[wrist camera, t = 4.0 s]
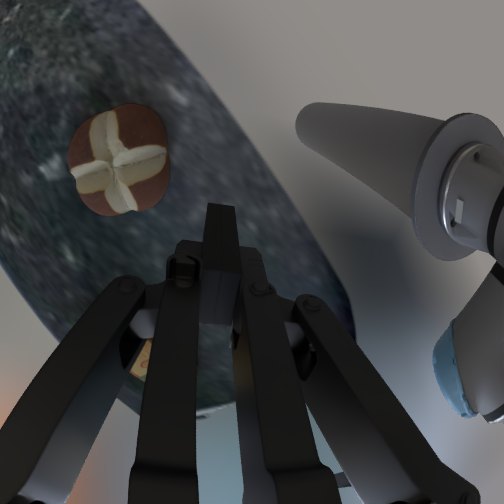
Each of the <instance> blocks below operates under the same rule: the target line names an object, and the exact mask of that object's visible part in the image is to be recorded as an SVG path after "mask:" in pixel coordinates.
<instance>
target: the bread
mask: <svg viewBox="0 0 504 504" xmlns="http://www.w3.org/2000/svg"><path fill="white" fill-rule="evenodd" d="M68 166H69V170H70V172H71V173H72V174H73V175H74V177H75V179H76V187H77V191H78V193H79V195H80V197H81V199H82V200H83V202H84V203H85V204H86V205H87V206H88V207H89V208H90V209H91V210H92V211H94V212H96V213H97V214H100V215H104V216H115V215H120V214H124V213H126V212H128V211H129V210H135V211H138V212H139V211H143V210H146V209H148V208H151V207H152V206H154V205H155V204H157V203H158V202H159V201H160V199H161V198H162V197H163V195H164V193H165V192H166V189H167V187H168V183H169V179H170V163H169V157H168V153H167V136H166V131H165V128H164V126H163V123H162V121H161V120H160V118H159V117H158V115H157V114H156V113H155V112H153V111H152V110H151V109H149V108H147V107H145V106H142V105H138V104H124V105H121V106H118V107H116V108H114V109H112V110H111V111H105V112H102V113H99V114H97V115H95V116H93V117H91V118H90V119H88V120H87V121H85V122H84V123H83V124H82V125H80V126H79V128H78V129H77V130H76V132H75V134H74V136H73V138H72V140H71V143H70V146H69V150H68Z"/></svg>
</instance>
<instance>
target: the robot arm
mask: <svg viewBox="0 0 504 504" xmlns="http://www.w3.org/2000/svg"><path fill="white" fill-rule="evenodd" d="M437 214H438V219H439V223H440V225H441V227H442V229H443V231H444V232H445V233H446V234H447V235H448V236H449V237H450V238H451V239H453V240H454V241H455V242H456V243H458V244H461V245H464V246H468V247H471V248H474V249H477V250H481V251H483V252H487V253H489V254H490V255H491V256H493V257H494V258H495V259H496V260H497V261H496V263H495V264H494V266H493V267H492V269H491V271H490V272H489V274H488V275H487V277H486V278H485V280H484V281H483V283H482V284H481V285H480V287H479V288H478V290H477V291H476V292H475V294H474V295H473V297H472V298H471V299H470V301H469V302H468V303H467V305H466V306H465V307H464V309H463V310H462V311H461V312H460V313H459V315H458V316H457V317H456V318H455V319H453V320H452V321H451V323H450V326H449V327H448V329H447V330H446V331H445V332H444V334H443V335H442V336H441V337H440V339H439V340H438V341H437V343H436V345H435V347H434V350H433V366H434V372H435V375H436V379H437V382H438V384H439V387H440V389H441V391H442V393H443V395H444V397H445V399H446V400H447V402H448V403H449V405H450V406H451V407H452V409H453V410H454V411H455V412H456V413H457V414H461V416H462V417H464V418H471V417H474V416H476V415H477V414H478V413H481V415H482V416H483V417H484V419H485V420H486V421H487V422H488V423H489V424H492V423H500V422H502V423H504V156H503V155H502V154H501V153H500V152H499V151H498V150H496V149H495V148H494V147H492V146H490V145H488V144H485V143H482V142H479V141H472V142H469V143H466V144H465V145H463V146H462V147H460V148H459V149H458V150H457V151H456V152H455V153H454V154H453V156H452V157H451V159H450V160H449V162H448V164H447V166H446V167H445V170H444V172H443V175H442V177H441V181H440V185H439V189H438V196H437ZM262 261H263V260H262V256H261V254H260V253H259V252H258V250H257V249H256V248H250V247H242V246H239V240H238V232H237V224H236V216H235V208H234V206H228V205H221V204H214V203H208V206H207V212H206V219H205V226H204V233H203V241H202V242H197V241H189V240H182V241H180V242H179V243H178V244H177V246H176V250H175V254H173V255H171V256H169V257H168V259H167V265H166V280H165V281H163V282H162V283H159V284H155V285H146V286H145V283H144V282H143V281H142V280H141V279H140V278H138V277H136V276H130V275H126V276H120V277H117V278H116V279H114V280H113V281H112V282H111V283H110V284H109V285H108V286H107V287H106V289H105V290H104V291H103V292H102V293H101V294H100V295H99V296H98V298H97V299H96V300H95V301H94V302H93V303H92V305H91V306H90V307H89V308H88V309H87V310H86V312H85V313H84V314H83V315H82V316H81V318H80V319H79V320H78V321H77V323H76V324H75V325H74V326H73V327H72V329H71V330H70V331H69V332H68V334H67V335H66V336H65V337H64V339H63V340H62V341H61V343H60V344H59V345H58V346H57V348H56V349H55V350H54V352H53V353H52V354H51V356H50V357H49V358H48V360H47V361H46V362H45V364H44V365H43V366H42V368H41V369H40V371H39V372H38V373H37V375H36V376H35V377H34V379H33V380H32V382H31V383H30V384H29V386H28V387H27V389H26V390H25V392H24V393H23V395H22V396H21V398H20V399H19V401H18V402H17V404H16V405H15V407H14V408H13V410H12V412H11V413H10V415H9V416H8V418H7V420H6V421H5V423H4V425H3V426H2V428H1V429H0V504H65V503H66V501H67V499H68V497H69V495H70V493H71V491H72V489H73V487H74V484H75V482H76V480H77V478H78V475H79V473H80V471H81V468H82V466H83V464H84V462H85V460H86V458H87V456H88V454H89V451H90V449H91V447H92V445H93V443H94V441H95V438H96V437H97V435H98V433H99V431H100V429H101V427H102V425H103V423H104V421H105V419H106V417H107V415H108V413H109V411H110V409H111V407H112V405H113V403H114V401H115V399H116V397H117V395H118V393H119V392H120V390H121V388H122V386H123V384H124V382H125V380H126V378H127V376H128V375H129V373H130V371H131V369H132V367H133V365H134V363H135V362H136V360H137V358H138V356H139V354H140V353H141V351H142V349H143V347H144V345H145V344H146V342H147V338H152V337H153V340H152V345H151V350H150V356H149V361H148V367H147V373H146V379H145V385H144V392H143V398H142V405H141V413H140V420H139V429H138V437H137V447H136V457H135V462H134V464H133V466H132V468H131V472H130V477H129V488H128V504H199V491H198V475H197V467H196V382H197V350H198V328H199V323H202V324H212V325H223V326H231V323H232V319H233V329H232V334H231V338H230V342H229V348H231V346H232V356H233V370H234V384H235V397H236V409H237V421H238V431H239V432H238V433H239V444H240V454H241V464H242V473H243V474H242V475H243V484H244V492H243V499H242V504H342V502H341V498H340V494H339V490H338V486H337V482H336V479H335V476H334V474H333V472H332V470H331V469H330V468H329V467H327V466H325V465H323V464H322V463H321V462H320V460H319V457H318V453H317V449H316V445H315V440H314V436H313V432H312V428H311V424H310V420H309V416H308V412H307V408H306V405H307V406H308V408H309V410H310V412H311V414H312V415H313V417H314V419H315V421H316V423H317V425H318V427H319V428H320V430H321V432H322V434H323V436H324V437H325V439H326V441H327V443H328V445H329V446H330V448H331V450H332V452H333V454H334V455H335V457H336V459H337V461H338V462H339V464H340V466H341V468H342V470H343V471H344V473H345V475H346V477H347V478H348V480H349V482H350V484H351V485H352V487H353V489H354V490H355V492H356V494H357V496H358V497H359V499H360V500H361V502H362V503H363V504H480V503H481V502H480V494H479V491H478V489H477V488H476V487H475V486H474V485H472V484H471V483H469V482H468V481H467V480H465V479H464V478H463V477H461V476H460V475H458V474H457V473H456V472H454V471H453V470H452V469H450V468H449V467H448V466H446V465H445V464H444V463H442V462H441V461H440V459H439V458H438V457H437V455H436V453H435V452H434V451H433V449H432V448H431V446H430V445H429V443H428V442H427V440H426V439H425V438H424V436H423V435H422V433H421V432H420V431H419V429H418V428H417V426H416V425H415V423H414V422H413V420H412V419H411V418H410V416H409V415H408V413H407V412H406V410H405V409H404V408H403V406H402V405H401V403H400V402H399V401H398V399H397V398H396V396H395V395H394V394H393V392H392V391H391V390H390V388H389V387H388V385H387V384H386V383H385V381H384V380H383V379H382V377H381V376H380V374H379V373H378V372H377V370H376V369H375V368H374V366H373V365H372V364H371V362H370V361H369V360H368V358H367V357H366V356H365V354H364V353H363V351H361V349H360V348H359V346H358V345H357V343H356V342H355V341H354V339H353V338H352V337H351V336H350V334H349V333H348V332H347V330H346V329H345V328H344V326H343V325H342V324H341V322H340V321H339V320H338V318H337V317H336V316H335V314H334V313H333V312H332V311H331V309H330V308H329V307H328V305H327V304H326V303H325V302H324V301H323V300H322V299H320V298H318V297H317V296H313V295H309V294H303V295H300V296H298V297H297V298H296V301H292V300H288V299H285V298H282V297H280V296H278V295H277V293H276V290H275V288H274V287H273V286H272V285H271V284H270V283H268V280H267V276H266V272H265V268H264V264H263V262H262ZM312 346H313V347H312ZM305 403H306V405H305Z"/></svg>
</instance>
